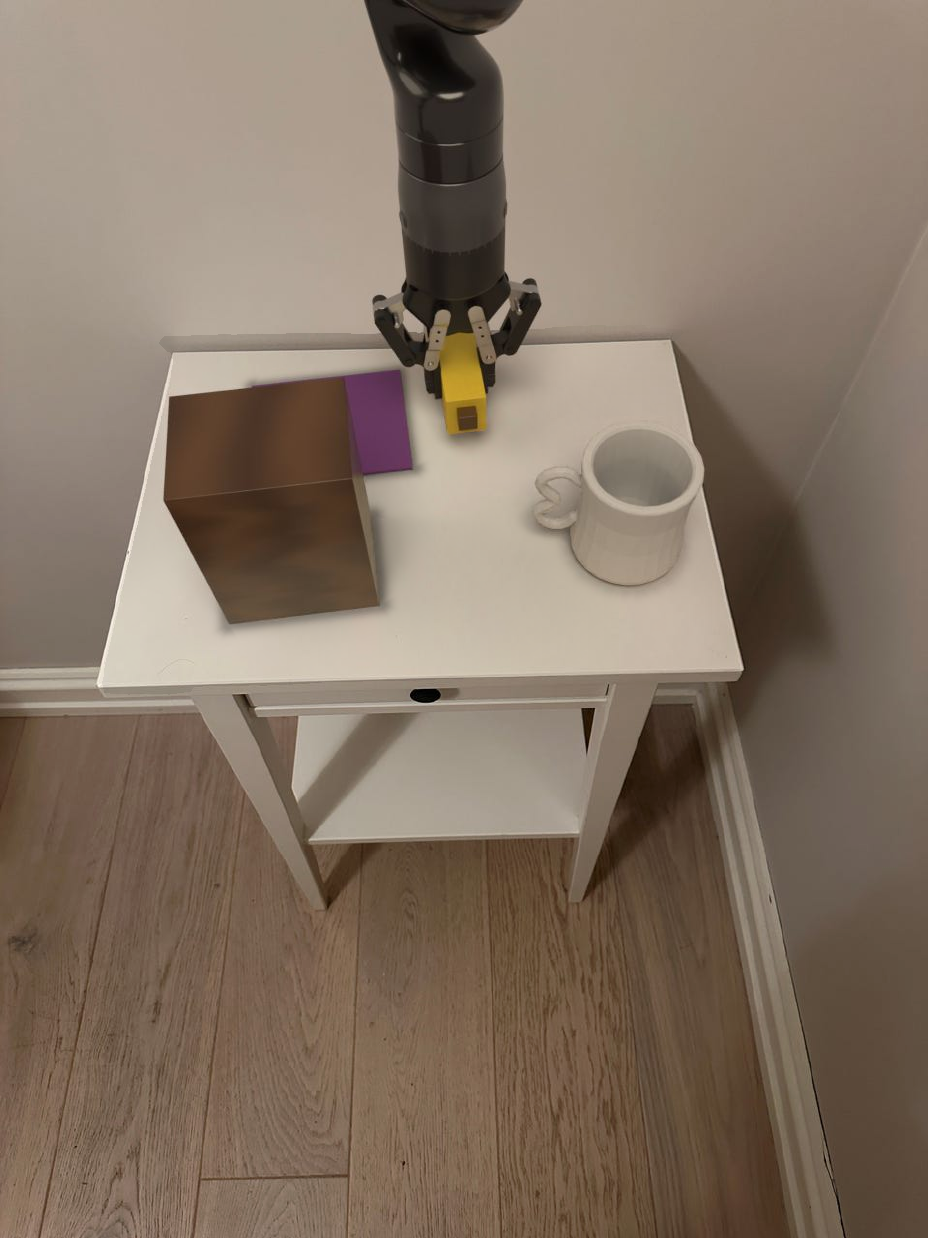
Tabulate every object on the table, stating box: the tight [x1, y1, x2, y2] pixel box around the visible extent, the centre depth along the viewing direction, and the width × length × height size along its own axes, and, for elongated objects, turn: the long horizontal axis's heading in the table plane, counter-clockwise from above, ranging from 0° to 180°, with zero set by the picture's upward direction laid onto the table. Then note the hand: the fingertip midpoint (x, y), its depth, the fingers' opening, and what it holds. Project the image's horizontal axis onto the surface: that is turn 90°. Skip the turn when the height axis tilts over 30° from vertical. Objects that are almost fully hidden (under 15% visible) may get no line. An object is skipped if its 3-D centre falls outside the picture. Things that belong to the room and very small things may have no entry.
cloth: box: [251, 368, 414, 476], centre depth 78 cm, size 14×12×1 cm
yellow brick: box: [439, 333, 487, 435], centre depth 75 cm, size 11×3×4 cm, turn 7°
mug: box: [531, 419, 706, 586], centre depth 67 cm, size 12×9×10 cm
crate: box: [162, 377, 380, 625], centre depth 64 cm, size 12×9×16 cm
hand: (459, 388), depth 76 cm, fingers closed on yellow brick, 3 cm apart
